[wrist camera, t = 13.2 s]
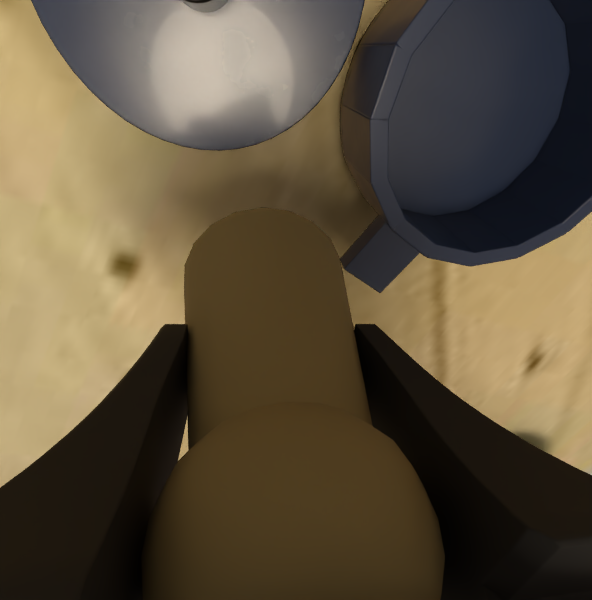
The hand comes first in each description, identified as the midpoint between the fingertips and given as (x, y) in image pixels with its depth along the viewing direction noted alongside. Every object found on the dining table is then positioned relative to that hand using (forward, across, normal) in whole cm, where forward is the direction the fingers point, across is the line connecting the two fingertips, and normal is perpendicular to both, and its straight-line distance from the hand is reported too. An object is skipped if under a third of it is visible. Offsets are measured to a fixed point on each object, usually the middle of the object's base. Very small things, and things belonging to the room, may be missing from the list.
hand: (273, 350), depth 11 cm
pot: (+10, -9, -6) cm, 15 cm away
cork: (+4, 0, 0) cm, 4 cm away
